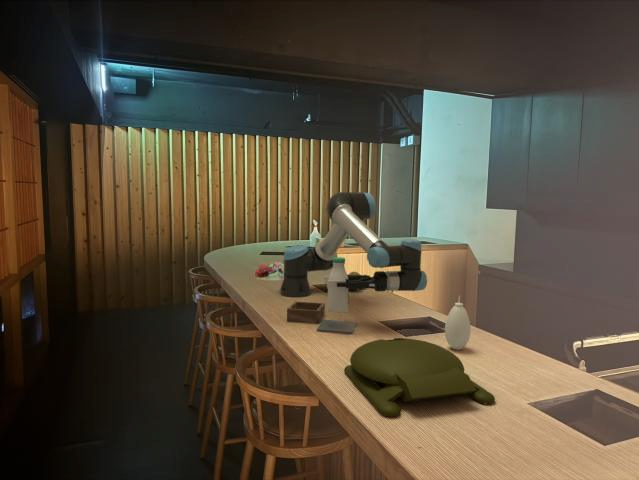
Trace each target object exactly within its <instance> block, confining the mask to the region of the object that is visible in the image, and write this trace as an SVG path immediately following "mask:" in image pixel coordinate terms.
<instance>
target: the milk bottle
mask: <svg viewBox="0 0 639 480" xmlns="http://www.w3.org/2000/svg"><path fill="white" fill-rule="evenodd" d="M345 264H346V258H345V257H341V256H339V257H338V256H337V257H334V258H333V268H332V269H331V271H330V274H329V275H328V276H329V280H345V282H346V279H348V273H347V271H346V268H345ZM348 281H349V280H348ZM349 291H350V289H349V288H346V287H345V288H327V311H328V312H330V313H333V314H343V313H347V312H348V311H349V296H350V295H349V293H350V292H349Z"/></svg>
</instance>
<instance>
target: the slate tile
mask: <svg viewBox="0 0 639 480" xmlns="http://www.w3.org/2000/svg"><path fill="white" fill-rule="evenodd" d="M356 326H357V321H350V320H349V321H348V320H334V319H322V320H321V321H320V323H319V324H318V326H317V328H316V332H320V333H333V334H343V335H345V334H347V335H353V333H354V330H355V328H356Z"/></svg>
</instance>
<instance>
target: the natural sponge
mask: <svg viewBox="0 0 639 480" xmlns="http://www.w3.org/2000/svg"><path fill="white" fill-rule="evenodd" d="M347 275H361V274H360V273H359V272H357V271H351V272H349V273H347ZM350 290H351V291H353V292H355V291H356V290H358V289H350Z"/></svg>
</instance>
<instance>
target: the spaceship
mask: <svg viewBox="0 0 639 480" xmlns="http://www.w3.org/2000/svg"><path fill="white" fill-rule="evenodd" d="M349 363H350V364H349V365H347V366H345V367H344V369H343V371H344V373H345V375H347V377H348V378H349V379H350V380H351V381H352V382H353V384H354V385H355V386H356V387H357V388H358V389H359V390H360V392H361V393H362V394H363V395H364V396H365V397H366V398H367V399H368V401H369V402H370V403H371V405H372V406H374V408H375V409H376V410H377V411H378V413H380V414H381V415H382V416H385V417H386V418H395V417H397V416H399V415H400V414H401V407H400V406H399V405H398V404H397V403H396V402H395V401H394V400H396V399H397V398H398V397H399V398H401V399H402V401H403V402H412V401H422V400H430V399H436V398H437V399H438V398H447V397H453V396H460V395H468V396H469V397H470V398H471V399H473V400H474V399H475V401H476V402H477V401H478V402H477V403H479V402H481V403H480V404H482V403H492V404H493V403H494V402H495V400H496V397H495V396H494V395H493V394H492V393H491V392H489V391H487V390H486V389H485V388H484V387H482V386H480V385H479V384H478V383H476V382H474V380H472V379H471V378H470V375H468V374H467V373H466V372H465V367H464V364H463V362H462V361H461V359H460V358H459V357H458V356H457V355H456V354H454V353H453V352H451V351H450V350H449V349H446V348H445V347H443V346H441V345H438V344H436V343H432V342H430V341H426V340H420V339H414V338H405V337H403V338H402V337H395V338H393V339H376V340H373V341H369V342H366V343H364V344H362V345H361V346H359V347H358V348H356V349H355V350H354V351H353V352H352V353H351V356H350V361H349ZM376 382H378V383H383V384H385V386H384V387H383V388H382V387H380V385H379V384H377V383H376Z"/></svg>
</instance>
